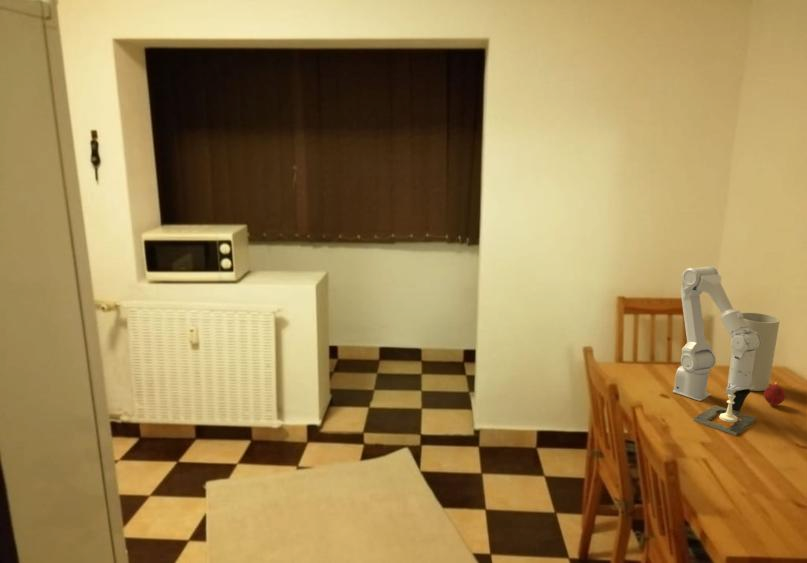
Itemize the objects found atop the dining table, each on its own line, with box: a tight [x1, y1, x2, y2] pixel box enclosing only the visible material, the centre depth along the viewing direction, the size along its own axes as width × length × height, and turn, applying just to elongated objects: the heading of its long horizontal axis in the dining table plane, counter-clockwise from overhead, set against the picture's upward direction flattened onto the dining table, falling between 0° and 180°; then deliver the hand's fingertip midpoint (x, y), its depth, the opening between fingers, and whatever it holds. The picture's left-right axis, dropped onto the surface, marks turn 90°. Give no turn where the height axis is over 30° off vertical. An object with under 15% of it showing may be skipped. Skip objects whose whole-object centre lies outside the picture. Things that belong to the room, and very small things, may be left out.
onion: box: [763, 382, 786, 406], centre depth 182 cm, size 6×6×8 cm
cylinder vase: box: [727, 312, 780, 392], centre depth 197 cm, size 12×12×25 cm
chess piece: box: [718, 391, 739, 423], centre depth 173 cm, size 5×5×10 cm
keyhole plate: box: [693, 404, 757, 437], centre depth 172 cm, size 14×12×1 cm
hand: (735, 410), depth 176 cm, fingers closed
